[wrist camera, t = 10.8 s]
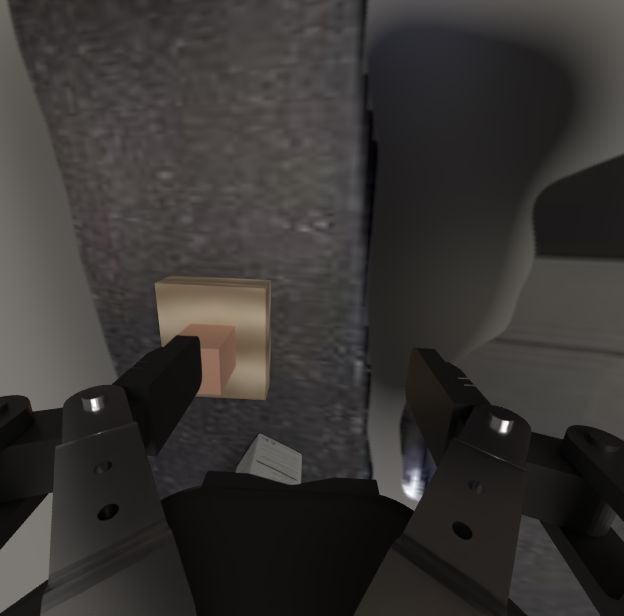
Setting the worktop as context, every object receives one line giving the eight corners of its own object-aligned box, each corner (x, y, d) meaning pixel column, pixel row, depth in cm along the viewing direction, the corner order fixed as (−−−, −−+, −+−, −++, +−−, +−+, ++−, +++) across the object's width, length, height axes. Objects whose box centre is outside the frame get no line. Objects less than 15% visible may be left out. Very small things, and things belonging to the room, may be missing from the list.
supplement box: (279, 486, 48) (266, 581, 36) (236, 465, 46) (207, 556, 34) (304, 453, 46) (299, 542, 34) (259, 430, 44) (238, 514, 32)
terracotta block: (190, 323, 35) (166, 346, 29) (234, 326, 35) (218, 349, 29) (193, 363, 37) (170, 392, 31) (235, 365, 37) (220, 395, 31)
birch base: (171, 275, 38) (154, 283, 34) (270, 280, 38) (265, 288, 34) (180, 377, 42) (167, 395, 38) (270, 382, 42) (265, 399, 38)
